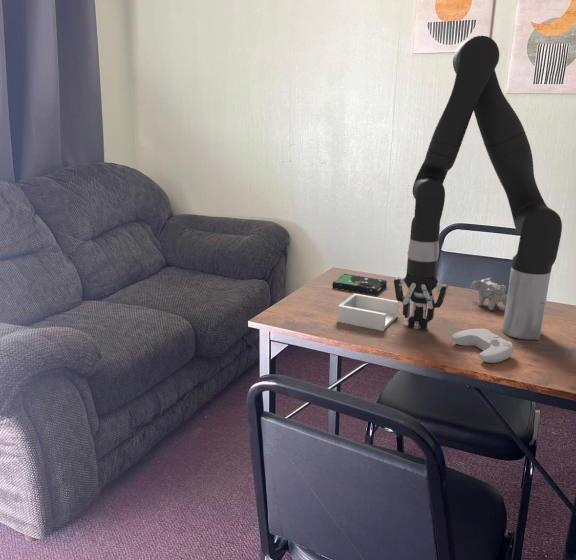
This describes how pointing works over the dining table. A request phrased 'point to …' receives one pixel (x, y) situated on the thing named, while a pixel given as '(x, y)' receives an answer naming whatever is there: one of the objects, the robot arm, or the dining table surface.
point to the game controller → (485, 344)
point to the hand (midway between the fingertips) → (417, 318)
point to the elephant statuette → (489, 292)
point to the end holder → (368, 311)
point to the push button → (418, 312)
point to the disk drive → (360, 284)
